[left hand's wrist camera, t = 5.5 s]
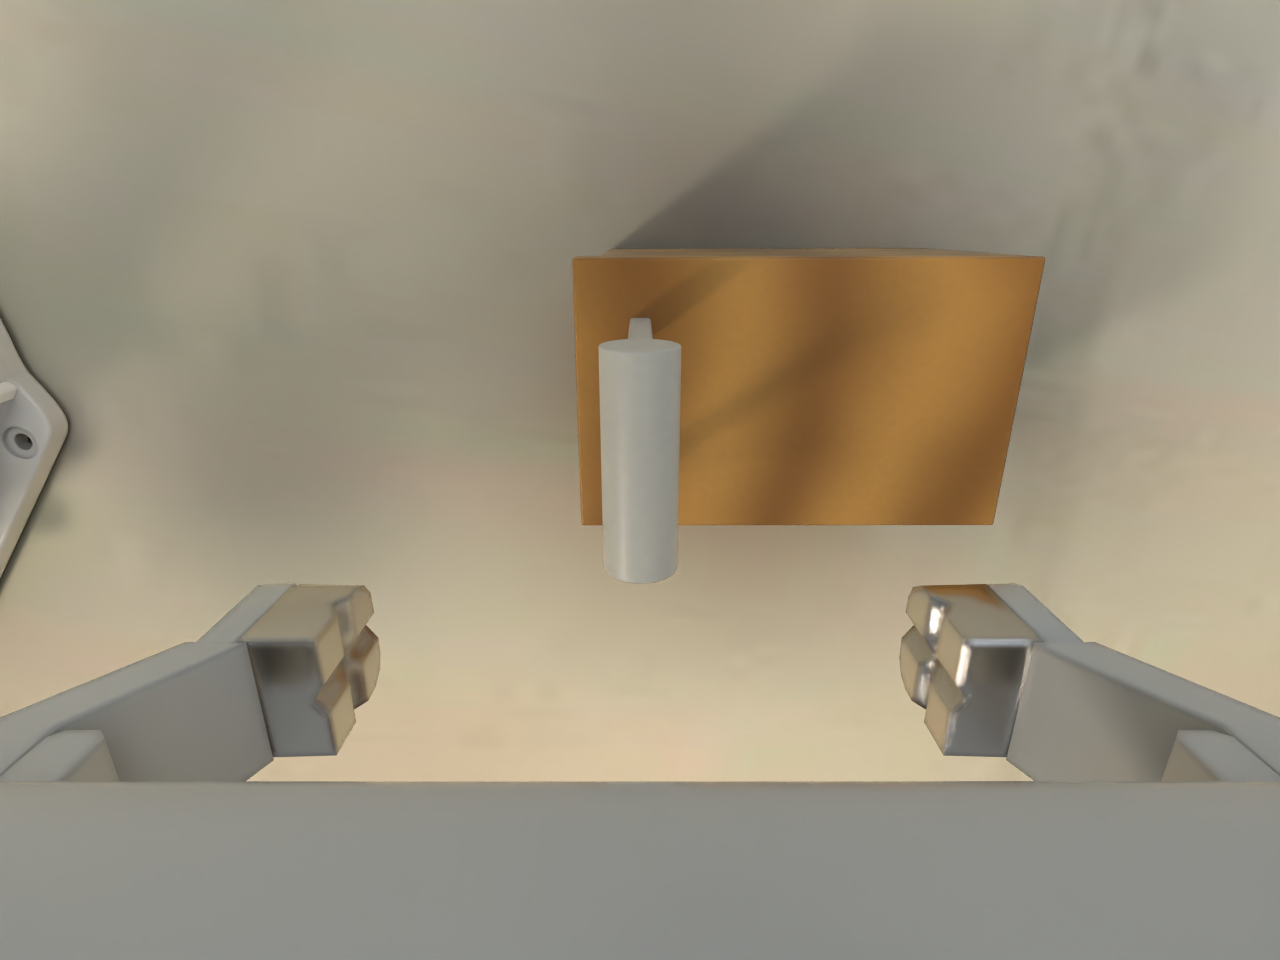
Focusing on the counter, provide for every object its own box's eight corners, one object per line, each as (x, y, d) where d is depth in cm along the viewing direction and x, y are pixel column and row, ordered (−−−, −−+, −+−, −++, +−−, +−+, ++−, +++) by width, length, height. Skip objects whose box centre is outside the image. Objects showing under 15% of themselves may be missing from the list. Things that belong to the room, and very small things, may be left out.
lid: (583, 513, 27) (557, 642, 18) (575, 256, 23) (538, 271, 15) (979, 513, 27) (1131, 642, 18) (1028, 255, 23) (1241, 270, 15)
